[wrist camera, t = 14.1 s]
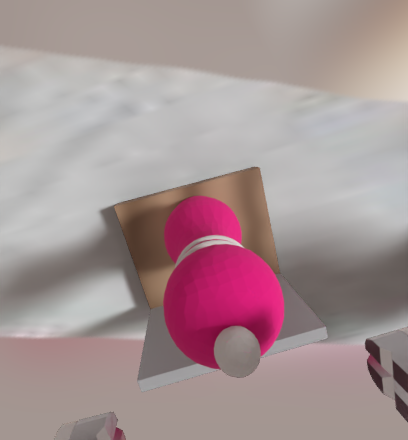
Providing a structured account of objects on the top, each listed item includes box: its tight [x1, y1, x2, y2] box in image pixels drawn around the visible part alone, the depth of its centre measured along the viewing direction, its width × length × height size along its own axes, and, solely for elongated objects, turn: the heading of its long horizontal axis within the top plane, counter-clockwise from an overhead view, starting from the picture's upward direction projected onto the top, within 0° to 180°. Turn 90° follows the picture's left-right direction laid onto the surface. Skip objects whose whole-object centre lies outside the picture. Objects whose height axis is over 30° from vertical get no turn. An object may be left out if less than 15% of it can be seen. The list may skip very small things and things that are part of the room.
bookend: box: [114, 167, 328, 392], centre depth 25 cm, size 16×14×12 cm
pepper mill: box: [163, 196, 284, 378], centre depth 19 cm, size 7×7×20 cm
